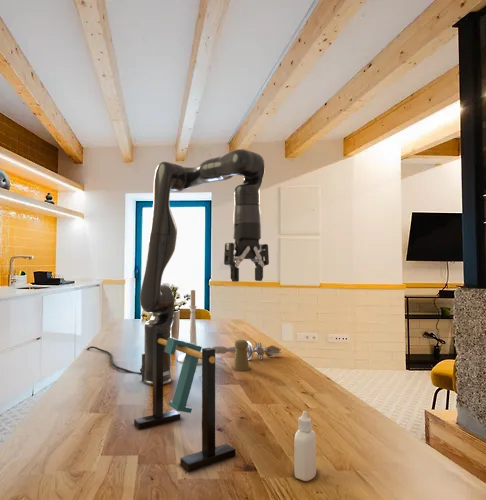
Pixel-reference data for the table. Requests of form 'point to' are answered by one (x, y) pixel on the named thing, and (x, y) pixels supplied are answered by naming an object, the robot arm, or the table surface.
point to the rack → (209, 450)
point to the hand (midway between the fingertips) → (247, 281)
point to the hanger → (183, 374)
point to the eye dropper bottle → (305, 449)
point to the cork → (241, 356)
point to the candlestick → (191, 327)
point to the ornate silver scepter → (250, 350)
